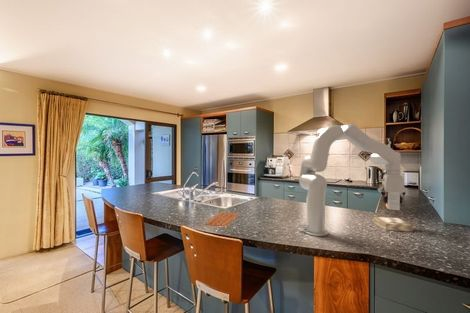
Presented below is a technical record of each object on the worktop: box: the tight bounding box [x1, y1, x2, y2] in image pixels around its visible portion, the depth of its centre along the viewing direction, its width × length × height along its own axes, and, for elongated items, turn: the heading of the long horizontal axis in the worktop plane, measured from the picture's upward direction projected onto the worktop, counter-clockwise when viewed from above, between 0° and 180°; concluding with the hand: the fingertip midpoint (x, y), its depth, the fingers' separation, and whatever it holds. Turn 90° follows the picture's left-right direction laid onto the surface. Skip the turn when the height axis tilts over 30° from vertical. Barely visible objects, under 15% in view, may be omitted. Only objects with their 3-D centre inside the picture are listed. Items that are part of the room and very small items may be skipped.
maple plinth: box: [373, 216, 414, 232], centre depth 130 cm, size 14×14×4 cm
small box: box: [385, 191, 401, 211], centre depth 130 cm, size 8×6×10 cm
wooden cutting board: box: [204, 211, 240, 228], centre depth 146 cm, size 14×30×1 cm, turn 165°
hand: (392, 202), depth 130 cm, fingers closed on small box, 6 cm apart
